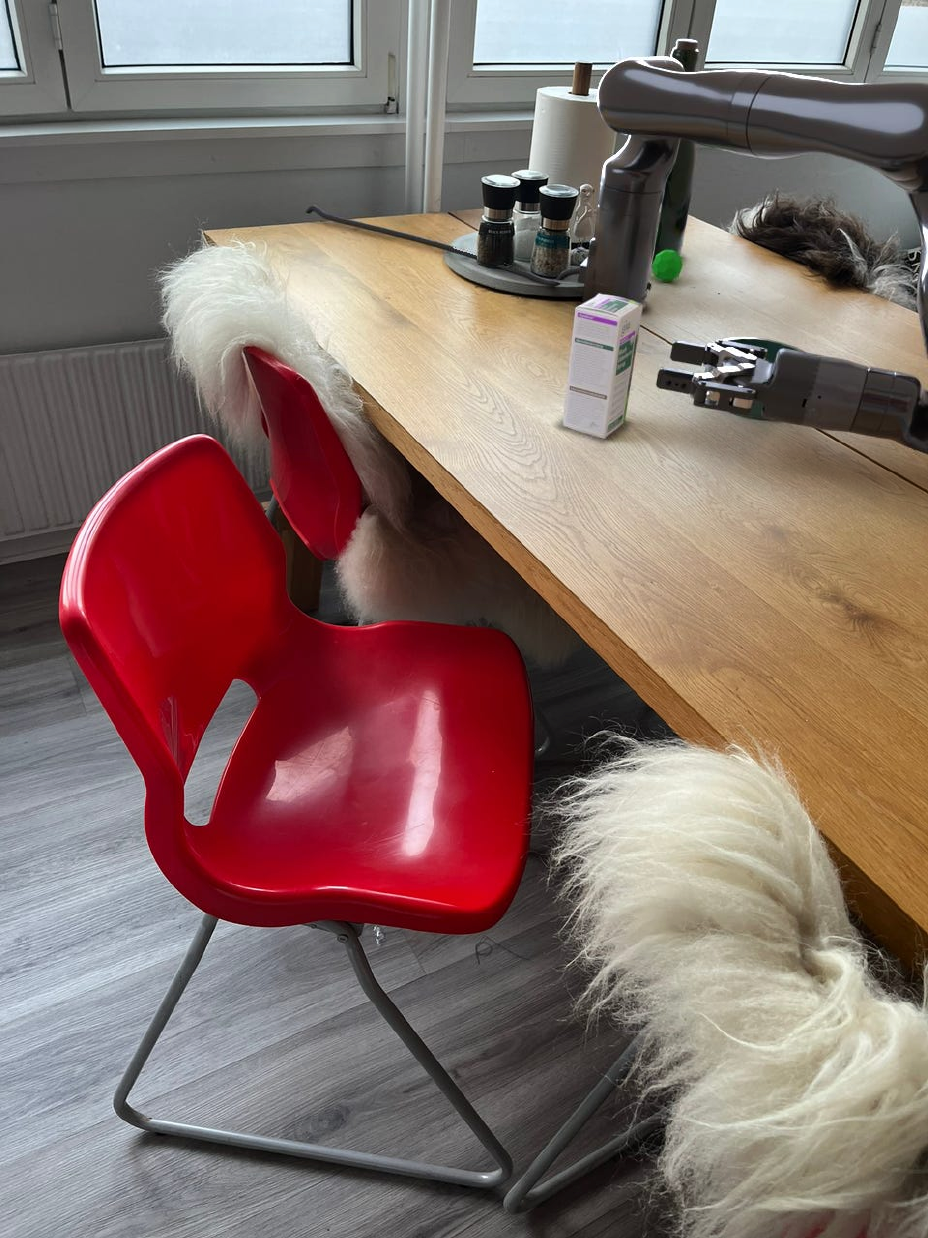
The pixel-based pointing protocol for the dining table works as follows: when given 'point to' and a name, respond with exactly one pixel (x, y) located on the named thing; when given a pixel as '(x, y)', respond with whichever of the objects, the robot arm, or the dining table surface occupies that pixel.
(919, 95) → the robot arm
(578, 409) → the syrup box
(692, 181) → the beer bottle
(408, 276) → the dining table surface
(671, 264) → the polyhedron
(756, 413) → the crock
